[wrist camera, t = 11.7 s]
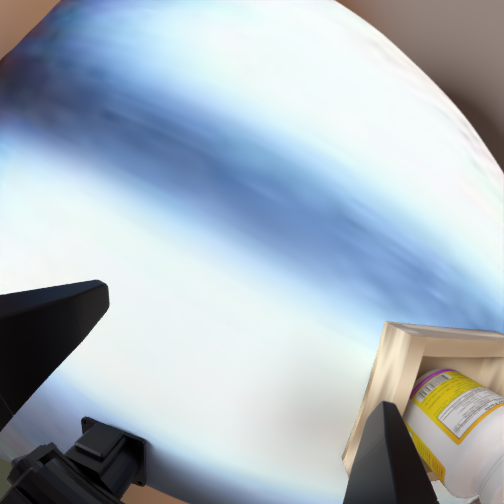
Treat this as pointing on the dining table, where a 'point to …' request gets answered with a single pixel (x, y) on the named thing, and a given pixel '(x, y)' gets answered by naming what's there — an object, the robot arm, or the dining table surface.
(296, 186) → the dining table surface
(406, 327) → the birch box
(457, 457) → the supplement bottle
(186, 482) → the dining table surface
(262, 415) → the dining table surface
